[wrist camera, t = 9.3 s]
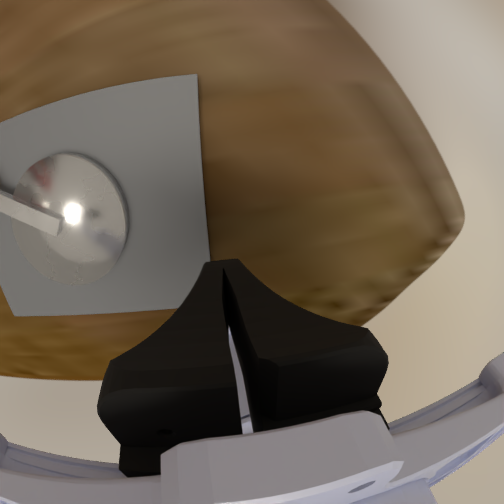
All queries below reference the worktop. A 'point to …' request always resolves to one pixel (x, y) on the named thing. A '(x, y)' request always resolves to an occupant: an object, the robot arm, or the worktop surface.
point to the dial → (68, 218)
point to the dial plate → (132, 185)
